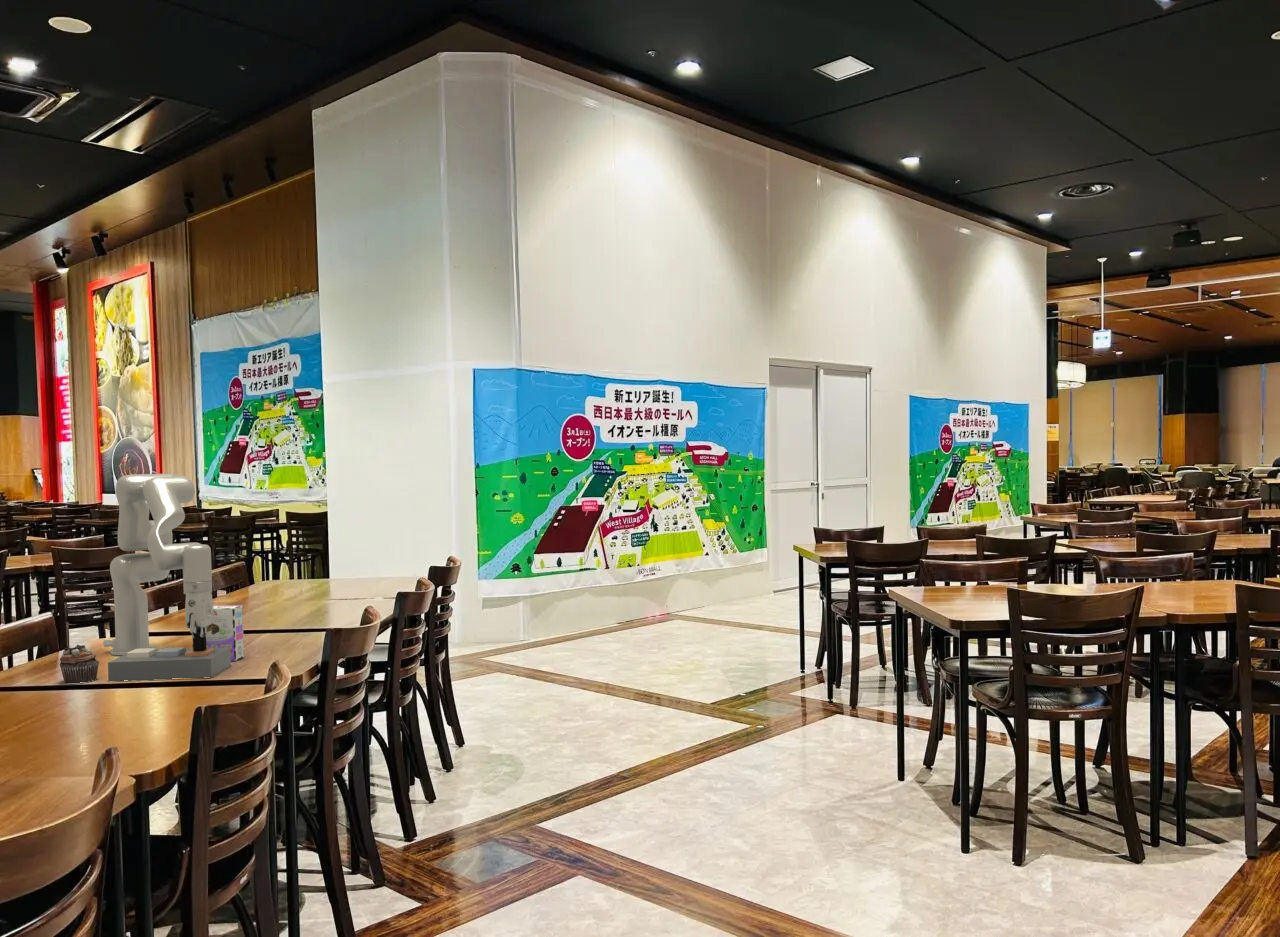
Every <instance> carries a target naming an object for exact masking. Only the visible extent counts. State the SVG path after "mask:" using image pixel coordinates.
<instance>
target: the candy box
mask: <svg viewBox="0 0 1280 937" xmlns="http://www.w3.org/2000/svg"><path fill="white" fill-rule="evenodd" d="M243 609H244V608H243V605H213V610H214V622H213V623H212V624H211V625H209V626H208V627H207V633H206V647H207V648H230V647H231V662H236V661H239V660H241V659H244V658H245V647H244V646H245V644H244V643H245V642H244V619H243V618H244V614H243V611H244V610H243Z"/></svg>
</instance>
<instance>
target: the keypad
mask: <svg viewBox="0 0 1280 937" xmlns="http://www.w3.org/2000/svg"><path fill="white" fill-rule="evenodd" d="M192 649H193V648H186V652H188V651H190V650H192ZM207 649H208V648H207ZM159 650H160V649H158V651H159ZM231 666H232V661H231V647H230V648H214V652H213V653H211V654H209V655H207V656H185V653H184V654H182V655H181V656H179V657H156V655H154V656H152V657H150V658H127V654H125V655H120V656H119V657H116V658H114V659H112V660H110V661H108V662H107V678H108V680H107V681H121V682H125V681H124V680H128V681H127V682H132V681H131V680H149V681H155V680H154V679H172V678H204V677H213V676H214V675H216V674H217V675H219V674H221V673H222V672H224V671H225V670H227V669H228V668H230V667H231ZM226 668H227V669H226ZM223 670H224V671H223ZM221 671H222V672H221ZM218 673H219V674H218ZM217 675H216V676H217ZM214 677H215V676H214ZM214 677H213V678H214Z"/></svg>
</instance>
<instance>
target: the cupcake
mask: <svg viewBox="0 0 1280 937" xmlns="http://www.w3.org/2000/svg"><path fill="white" fill-rule="evenodd" d="M96 656H97V655H96V653H94V652H92V651H91V650H90V649H89V648H88V647H86V645H80V644H76V645H75V646H74V647H64V648H63V651H62V656H61V657H60V658H59V662H60V663H59V667H60V672H61V675H62V678H63V682H65V683H80V682H87V683H89V682H88V681H91V682H93V681H92V680H94V681H96V680H97V678H98V672H99V664H100V661H99V660H97V658H96ZM95 679H96V680H95ZM65 683H64V684H65ZM80 684H81V683H80Z"/></svg>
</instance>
